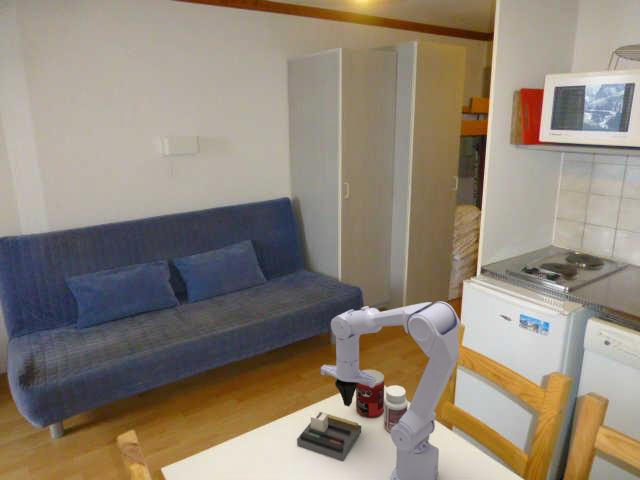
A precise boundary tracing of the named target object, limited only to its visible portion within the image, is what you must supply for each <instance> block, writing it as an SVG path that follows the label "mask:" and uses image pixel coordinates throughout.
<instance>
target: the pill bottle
mask: <svg viewBox="0 0 640 480" xmlns="http://www.w3.org/2000/svg"><path fill="white" fill-rule="evenodd" d="M385 391H386V392H385V397H384V410H383V423H384V424H383V426H384V429H385V430H386V431H388V432H389V433H391V429H392V427H393V426H395V425H397V424H398V423H399V420H400V419H401V417H402V416H403V415H404V414H405V413H406V411H407V410H408V399H407V397H406V396H407V395H406V393H407V391H406V389H405V388H404V387H403V386H401V385H389V386H388V387H387V388H386V389H385Z"/></svg>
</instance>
